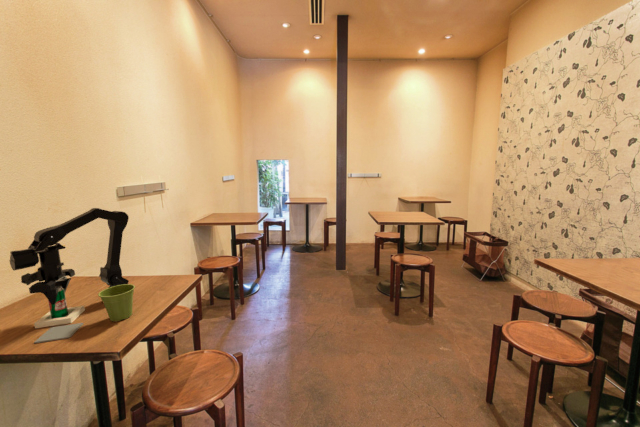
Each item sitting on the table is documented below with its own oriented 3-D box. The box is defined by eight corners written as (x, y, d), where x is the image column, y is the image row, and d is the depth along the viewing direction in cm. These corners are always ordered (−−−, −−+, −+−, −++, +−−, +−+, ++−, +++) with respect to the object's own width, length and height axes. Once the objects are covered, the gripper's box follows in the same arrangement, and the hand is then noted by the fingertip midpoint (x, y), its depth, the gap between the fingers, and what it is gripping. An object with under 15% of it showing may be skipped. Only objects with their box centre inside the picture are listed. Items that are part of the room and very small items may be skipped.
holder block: (84, 310, 124) (84, 305, 123) (71, 323, 113) (70, 318, 113) (52, 314, 120) (51, 309, 120) (35, 328, 110) (34, 323, 110)
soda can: (58, 320, 114) (53, 291, 112) (48, 320, 115) (42, 290, 113) (71, 314, 118) (67, 285, 117) (61, 313, 119) (56, 285, 118)
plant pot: (107, 313, 120) (103, 287, 118) (141, 308, 124) (138, 282, 122) (97, 327, 109) (93, 298, 107) (134, 321, 113) (131, 292, 111)
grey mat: (83, 323, 112) (83, 322, 112) (69, 337, 103) (69, 336, 102) (51, 328, 109) (51, 327, 109) (34, 343, 100) (34, 342, 100)
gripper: (39, 258, 120) (46, 295, 122) (6, 273, 102) (15, 315, 104) (72, 255, 123) (78, 291, 125) (46, 269, 105) (53, 310, 108)
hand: (57, 301), depth 116 cm, fingers closed on soda can, 5 cm apart
